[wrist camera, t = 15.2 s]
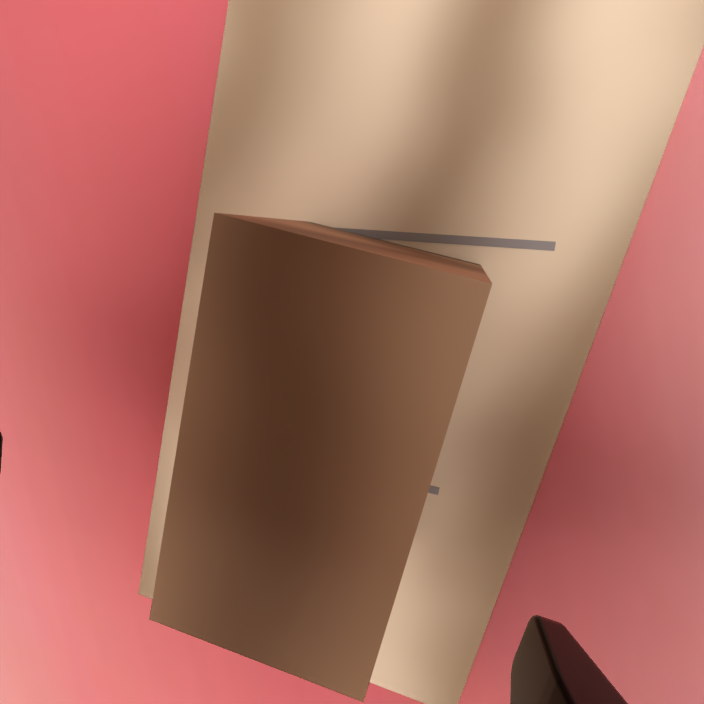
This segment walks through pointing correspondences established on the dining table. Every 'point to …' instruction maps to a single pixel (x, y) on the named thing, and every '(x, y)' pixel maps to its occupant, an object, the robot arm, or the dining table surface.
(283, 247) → the block
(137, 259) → the dining table surface
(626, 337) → the dining table surface
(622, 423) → the dining table surface
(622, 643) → the dining table surface
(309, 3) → the board
